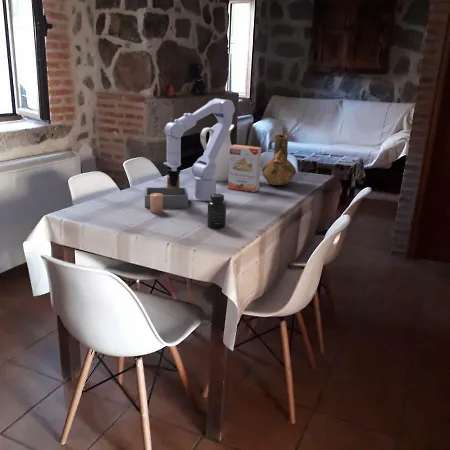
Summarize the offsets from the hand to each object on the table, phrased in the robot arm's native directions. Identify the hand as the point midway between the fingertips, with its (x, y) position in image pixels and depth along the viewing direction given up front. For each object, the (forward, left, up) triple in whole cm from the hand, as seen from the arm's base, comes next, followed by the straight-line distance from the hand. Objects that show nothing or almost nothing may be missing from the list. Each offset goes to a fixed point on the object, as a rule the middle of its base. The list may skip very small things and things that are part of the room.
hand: (173, 184), depth 202 cm
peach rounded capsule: (+7, +12, -8) cm, 16 cm away
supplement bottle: (-15, +31, -8) cm, 35 cm away
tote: (+3, 0, -8) cm, 9 cm away
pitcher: (-22, -42, -8) cm, 48 cm away
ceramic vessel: (-53, -32, -8) cm, 62 cm away
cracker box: (-34, -23, -8) cm, 42 cm away
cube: (0, 0, -1) cm, 1 cm away
